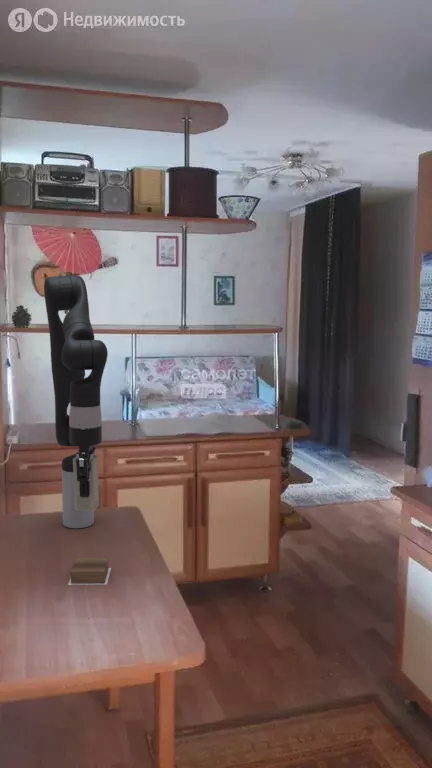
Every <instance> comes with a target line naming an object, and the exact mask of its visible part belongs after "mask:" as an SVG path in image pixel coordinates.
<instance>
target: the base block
mask: <svg viewBox="0 0 432 768" xmlns="http://www.w3.org/2000/svg"><path fill="white" fill-rule="evenodd" d="M108 568H109V557H76V558H75V559H74V562H73V565H72V568H71V570H70V578H71V584H96V583H105V580H106V576H107V573H108Z"/></svg>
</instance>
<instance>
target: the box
mask: <svg viewBox="0 0 432 768" xmlns="http://www.w3.org/2000/svg"><path fill="white" fill-rule="evenodd" d="M90 461H91V462H92V471H91V472H90V481H89V488H90V495H89V497H80V482H79V481H77V468H76V457H75V458H74V459H73V476H74V501H75V510H79V511H94V512H95V511H96V510H97V509H98V508H99V507H100V494H99V492H100V491H99V466H98V465H99V464H98V463H99V462H98V461H99V459H98V455H97V454H95V456H94V458H93V459H89V463H90ZM88 468H89V465H88ZM82 476H85V473H82Z"/></svg>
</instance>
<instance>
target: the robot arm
mask: <svg viewBox="0 0 432 768" xmlns="http://www.w3.org/2000/svg"><path fill="white" fill-rule="evenodd" d="M43 293H44V302H45V309H46V317H47V324H48V332H49V343H50V364H51V376H52V383H53V393H54V410H55V411H54V416H55V417H54V419H55V420H54V421H55V423H54V424H55V437H56V443H57V444H58V445H59V446H61V447H78V450H77V451H76V453H74V454H71V455H68V456H66V457H64V458H63V459H62V460H61V488H62V489H61V490H62V491H61V492H62V495H61V496H62V502H61V503H62V525H63V526H64V527H65V528H69V529H82V528H83V529H84V528H87V527H90V526H92V525H93V524H94V523H95V521H94V520H95V511H79V510H75V501H74V476H73V459H74V458H75V457H76V468H77V481H79V482H80V497H89V495H90V488H89V481H90V472H91V471H92V462H91V461H90V463H89V459H93V458H94V456H95V455H96V446H98V445H100V444H101V443H102V441H103V440H102V439H103V438H102V436H103V433H102V431H103V429H102V426H103V424H102V407H101V385H102V379H103V375H104V371H105V367H106V364H107V360H108V356H109V354H108V348H107V346H106V344H105V343H104V342H103V341H102V340H99V339H95V333H94V329H93V327H92V323H91V320H90V306H89V305H90V304H89V300H88V299H89V298H88V290H87V285H86V282H85V280H84V279H83V277H82V276H79V275H58V276H57V275H56V276H48V277H46V279H44V285H43ZM61 311H68V312H67V313H66V314H65V316H64V318H63V321H62V320H61V317H60V314H59V312H61ZM90 370H91V371H90ZM86 371H90V373H89V375H88V376H87V377H85V376H86ZM68 408H69V412H68ZM68 413H69V414H68ZM88 465H89V468H88ZM82 473H85V476H82Z"/></svg>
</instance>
